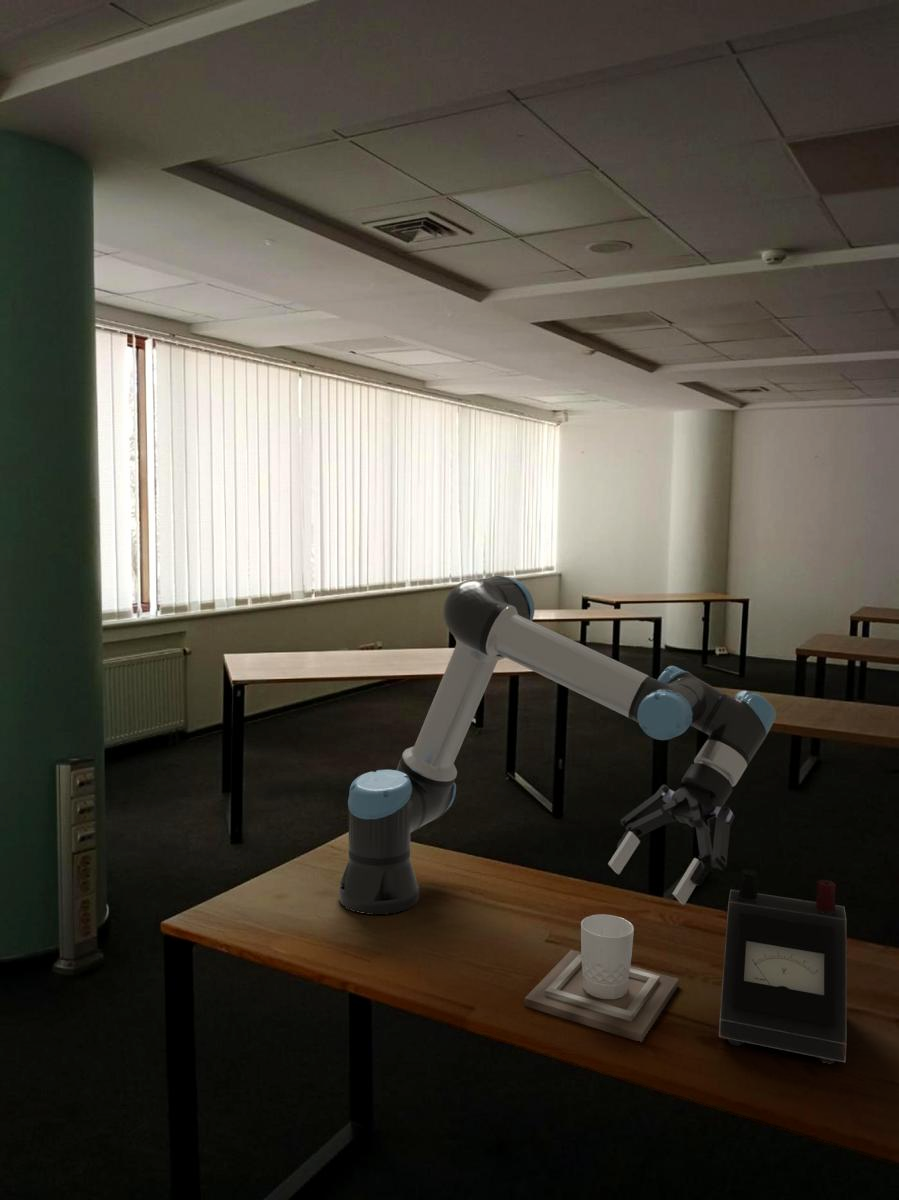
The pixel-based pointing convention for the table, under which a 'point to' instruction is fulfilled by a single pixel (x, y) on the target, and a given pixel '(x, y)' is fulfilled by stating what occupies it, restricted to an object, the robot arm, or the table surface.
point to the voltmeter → (785, 972)
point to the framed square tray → (616, 1016)
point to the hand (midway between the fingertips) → (644, 883)
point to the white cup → (606, 955)
